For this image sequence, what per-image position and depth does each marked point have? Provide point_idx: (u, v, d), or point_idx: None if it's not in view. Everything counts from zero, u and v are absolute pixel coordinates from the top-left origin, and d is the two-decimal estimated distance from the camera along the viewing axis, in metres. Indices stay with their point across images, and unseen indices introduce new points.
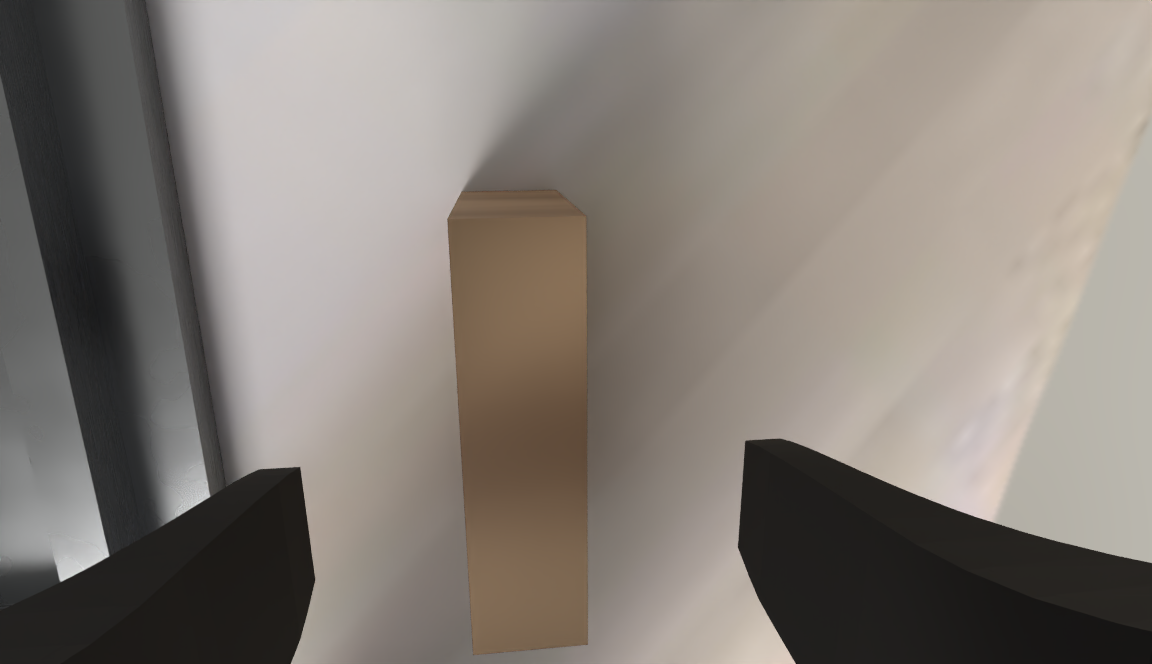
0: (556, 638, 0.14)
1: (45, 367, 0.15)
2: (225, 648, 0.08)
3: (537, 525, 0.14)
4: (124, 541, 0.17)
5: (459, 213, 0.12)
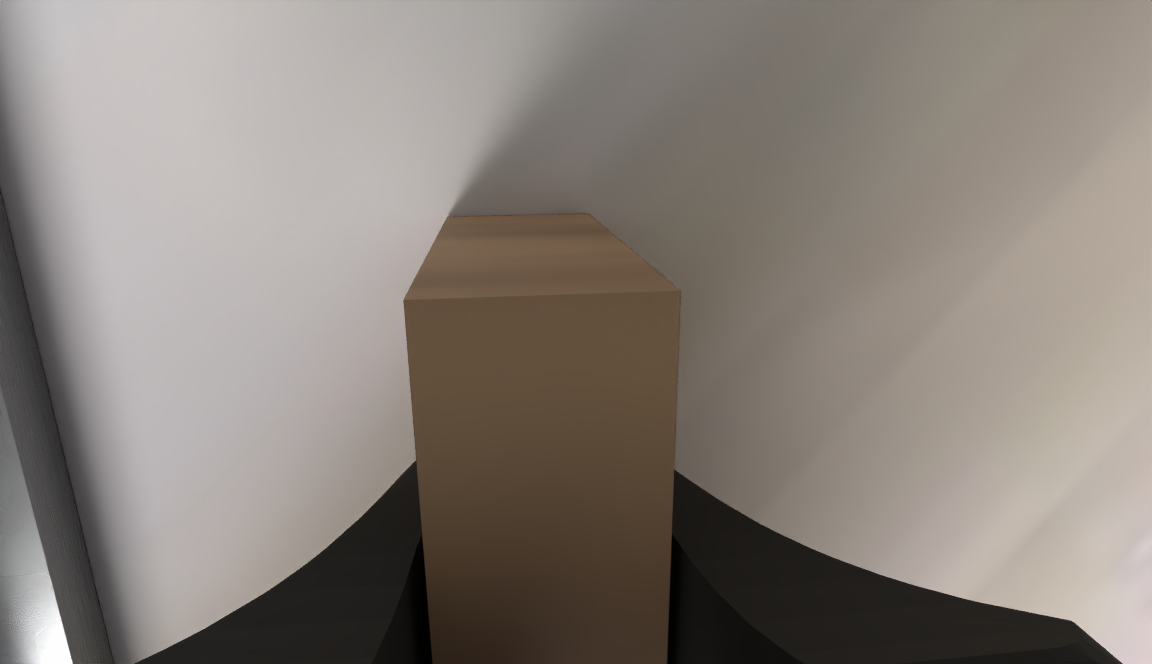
0: None
1: None
2: None
3: None
4: None
5: (432, 278, 0.07)
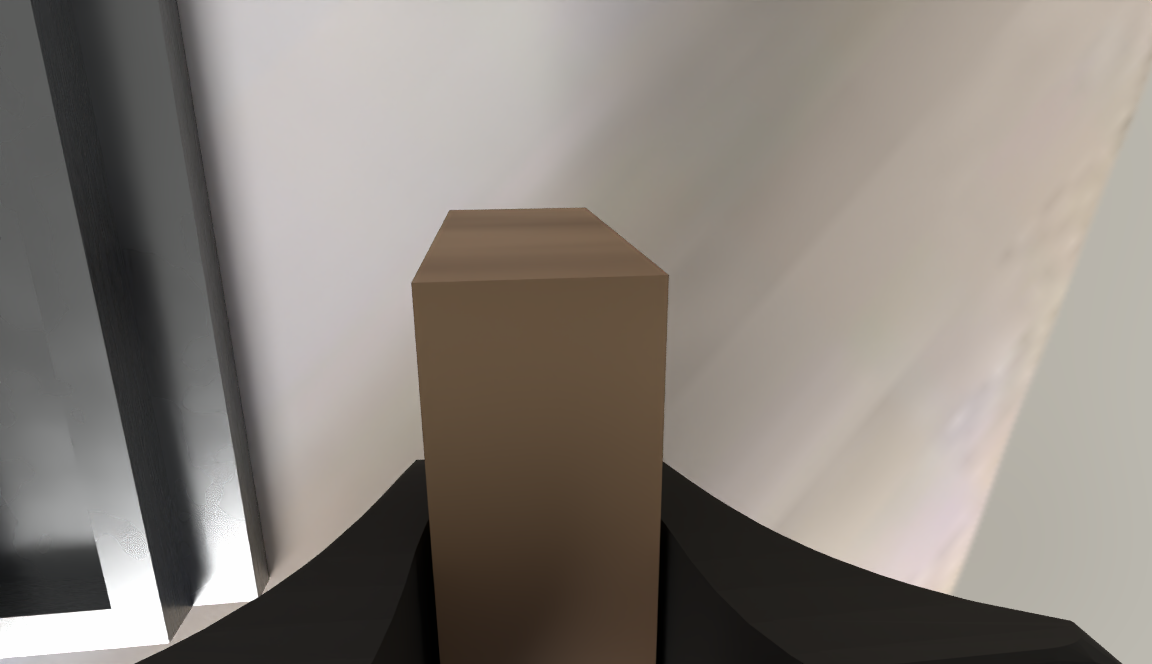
0: None
1: (86, 353, 0.16)
2: (431, 630, 0.08)
3: None
4: (158, 519, 0.18)
5: (437, 265, 0.07)
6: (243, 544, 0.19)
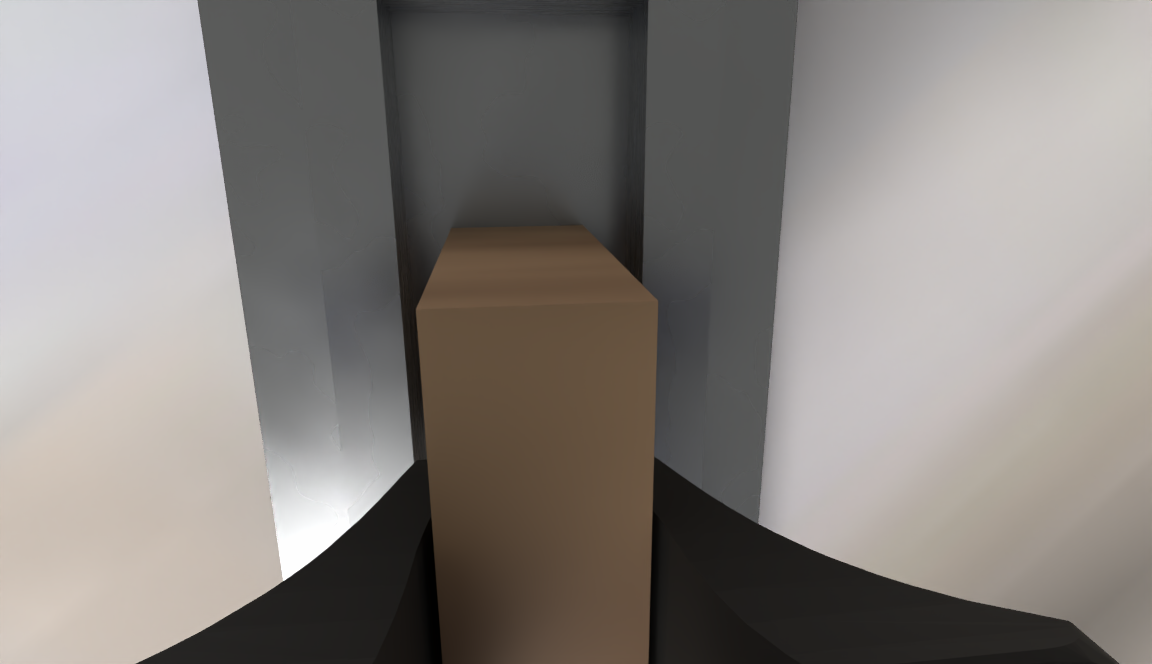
0: None
1: None
2: (432, 630, 0.08)
3: None
4: None
5: (439, 289, 0.07)
6: None
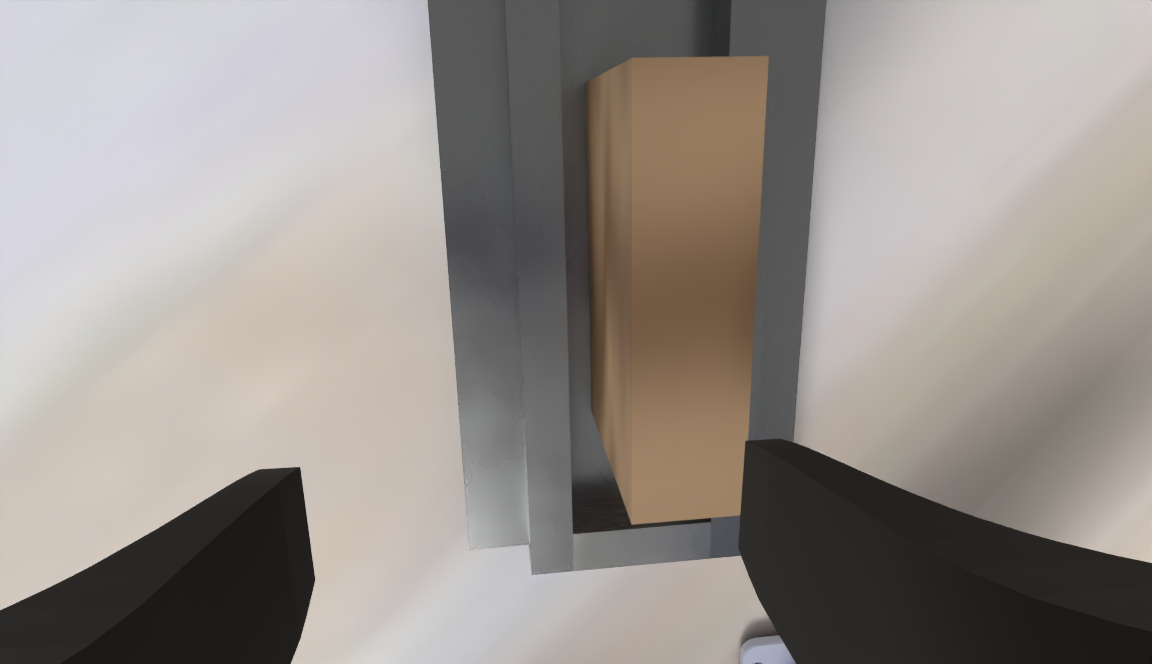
0: (714, 507, 0.14)
1: None
2: (225, 648, 0.08)
3: (702, 387, 0.13)
4: None
5: None
6: None
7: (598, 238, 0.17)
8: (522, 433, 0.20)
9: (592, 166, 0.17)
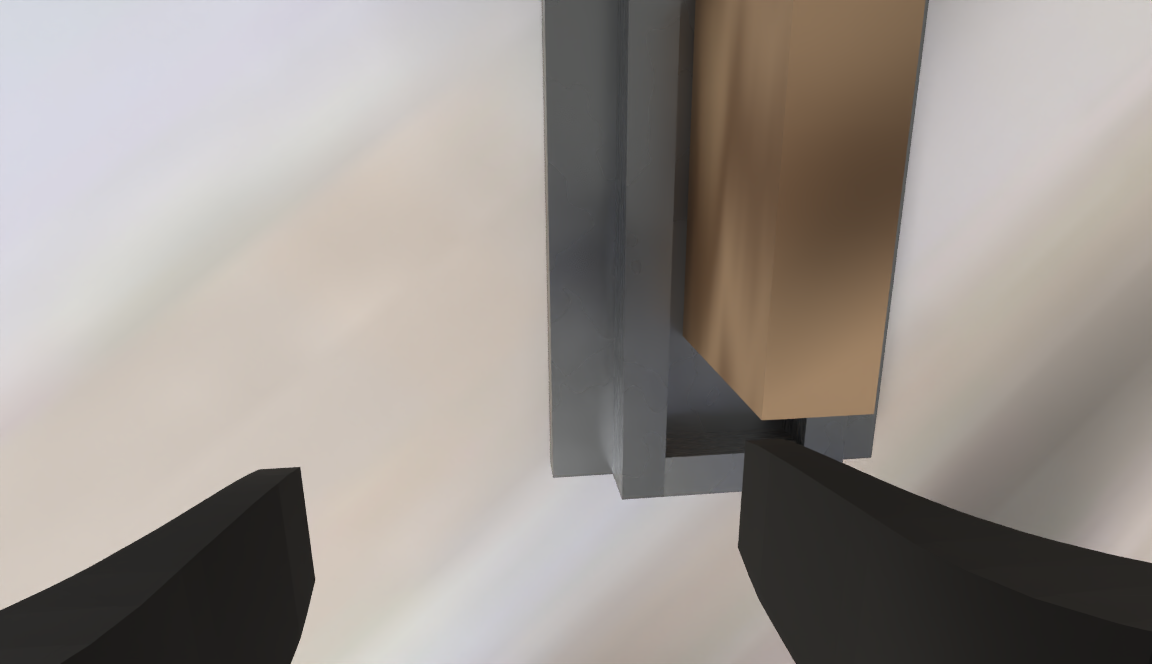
0: (845, 405, 0.14)
1: None
2: (225, 648, 0.08)
3: (842, 275, 0.13)
4: None
5: None
6: None
7: (711, 144, 0.16)
8: (612, 357, 0.19)
9: (704, 73, 0.17)
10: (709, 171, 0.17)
